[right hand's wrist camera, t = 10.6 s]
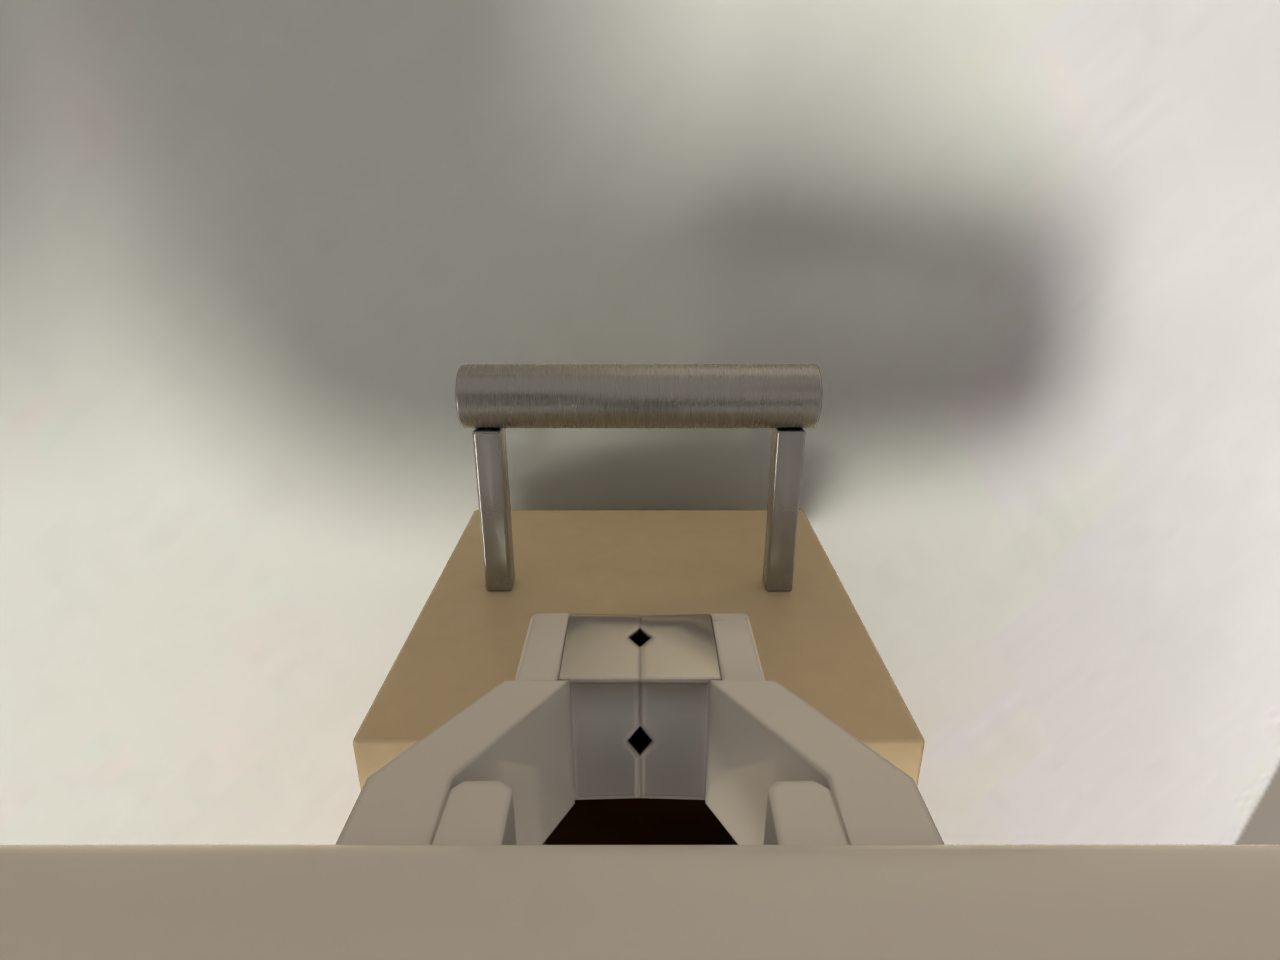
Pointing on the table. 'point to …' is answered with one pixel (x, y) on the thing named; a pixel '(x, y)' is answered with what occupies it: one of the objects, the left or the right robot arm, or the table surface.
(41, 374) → the table surface
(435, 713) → the drawer
